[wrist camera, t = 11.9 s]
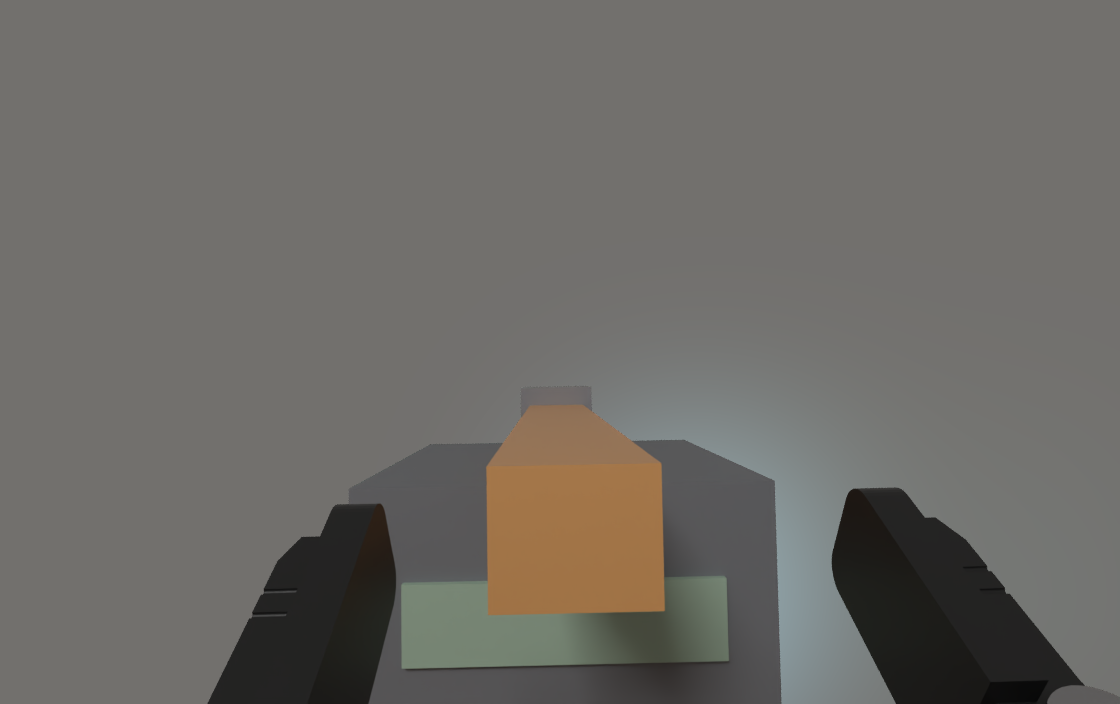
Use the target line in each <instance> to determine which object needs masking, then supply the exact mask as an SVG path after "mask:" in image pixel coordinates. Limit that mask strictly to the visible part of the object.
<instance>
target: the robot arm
mask: <svg viewBox="0 0 1120 704" xmlns="http://www.w3.org/2000/svg"><path fill="white" fill-rule="evenodd" d="M832 571H833V577H834V581H835V584H836V587H837V589H838V592H839V594H840V595H841V598H842V600H843V601H844V603H845V605H846V607H847V609H848V611H849V613H850V615H851V617H852V619H853V621H854V623H855V625H856V627H857V628H858V631H859V633H860V634H861V636H862V638H863V640H864V642H865V644H866V646H867V648H868V650H869V652H870V654H871V656H872V658H873V660H874V662H875V664H876V666H877V668H878V670H879V671H880V673H881V675H882V677H883V679H884V681H885V683H886V685H887V687H888V689H889V691H890V693H891V695H892V697H893V698H894V700H895V702H896V704H1120V697H1118V696H1116V695H1114V694H1111V693H1108V692H1106V691H1103V690H1100V689H1096V688H1093V687H1087V686H1085V685H1084V684H1083V683H1082V682H1081V681H1080V680H1079V679H1078V678H1077V676H1076V675H1075V674H1074V673H1073V672H1072V670H1071V669H1070V668H1069V666H1068V665H1067V664H1066V663H1065V662H1064V660H1063V659H1062V658H1061V657H1060V655H1059V654H1058V653H1057V652H1056V651H1055V649H1054V648H1053V647H1052V645H1051V644H1050V643H1049V642H1048V641H1047V639H1046V638H1045V637H1044V636H1043V634H1042V633H1041V632H1040V631H1039V629H1038V628H1037V627H1036V626H1035V625H1034V623H1033V622H1032V621H1031V620H1030V619H1029V617H1028V616H1027V615H1026V614H1025V612H1024V611H1023V610H1022V609H1021V607H1020V606H1019V605H1018V604H1017V602H1016V601H1015V600H1014V599H1013V597H1012V596H1011V595H1010V594H1006V592H1005V587H1004V586H1003V585H1002V584H1001V583H1000V581H999V580H998V579H997V578H996V576H995V575H994V574H993V573H992V572H991V571H988V570H987V565H986V564H985V563H984V562H983V560H982V559H981V558H980V557H979V555H978V554H977V553H976V552H975V550H974V549H973V548H972V547H971V546H970V544H969V543H968V542H967V541H966V540H965V539H964V538H963V537H961V536H960V535H959V534H957V533H956V532H954V531H953V530H952V529H950V528H949V527H948V526H946V525H945V524H943V523H942V522H941V521H939V520H938V519H937V518H925V517H924V516H923V515H922V513H921V512H920V511H919V510H918V508H917V507H916V506H915V504H914V503H913V502H912V500H911V499H910V498H909V497H908V495H907V494H906V493H905V492H904V491H903V490H902V489H899V488H865V489H852V490H851V491H850V492H849V493H848V495H847V498H846V501H845V505H844V509H843V514H842V517H841V521H840V525H839V529H838V533H837V537H836V541H835V545H834V549H833V553H832ZM395 594H396V568H395V562H394V557H393V552H392V546H391V541H390V536H389V531H388V525H387V520H386V515H385V510H384V507H383V506H382V504H380V503H376V504H343V505H341V504H340V505H335V506H334V507H333V509H332V511H331V513H330V515H329V517H328V520H327V522H326V524H325V526H324V529H323V531H322V533H321V536H320V537H301V539H300V540H298V541H297V542H296V544H294V545H293V546H292V547H291V548H290V549H289V550H288V551H287V552H286V553H285V554H284V555H283V556H282V557H281V558H280V559H279V560H278V561H277V564H276V565H275V567H274V570H273V571H272V573H271V576H270V578H269V580H268V582H267V584H266V586H265V588H264V594H263V595H261V596H260V598H259V600H258V602H257V604H256V606H255V608H254V610H253V612H252V613H253V615H252V618H251V619H249V620H248V622H247V625H246V626H245V628H244V631H243V632H242V635H241V637H240V639H239V641H238V643H237V645H236V647H235V649H234V651H233V653H232V655H231V657H230V659H229V661H228V663H227V665H226V667H225V669H224V671H223V673H222V675H221V677H220V679H219V681H218V683H217V686H216V688H215V689H214V691H213V693H212V696H211V698H210V700H209V702H208V704H369V700H370V696H371V692H372V688H373V684H374V680H375V677H376V673H377V669H378V665H379V661H380V657H381V653H382V649H383V645H384V641H385V638H386V634H387V630H388V626H389V622H390V618H391V614H392V610H393V606H394V601H395Z"/></svg>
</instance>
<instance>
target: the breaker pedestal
mask: <svg viewBox="0 0 1120 704" xmlns="http://www.w3.org/2000/svg"><path fill="white" fill-rule="evenodd" d="M632 442H634V443H635V444H636V445H638V446H639V447H640V448H642V449H643V450H644V451H646V452H647V453H648V454H650V455H651V456H652V457H654V458H655V459H656V460H658V461H659V462H661V466H662V509H663V553H664V596H665V611H653V612H610V613H566V614H523V615H488V566H487V476H486V466H487V465H488V464H489V462H490V461H491V459H492V458H493V457H494V455H495V454H496V452H497V451H498V450H499V448H500V447H501V445H502V444H503V443H489V444H433V445H429V446H427V447H425V448H423V449H421V450H419V451H417V452H416V453H414V454H412V455H410V456H408V457H406V458H405V459H403V460H401V461H399V462H397V463H395V464H394V465H392V466H390V467H388V468H387V469H384V470H383V471H381V472H379V473H377V474H375V475H373V476H372V477H370V478H368V479H366V480H364V481H363V482H361V483H359V484H357V485H355V486H353V487H352V488H350V489H349V504H376V503H380V504H382V506H383V507H384V510H385V515H386V520H387V525H388V531H389V536H390V541H391V546H392V552H393V557H394V562H395V568H396V594H395V601H394V606H393V610H392V614H391V618H390V622H389V626H388V630H387V634H386V638H385V641H384V645H383V649H382V653H381V657H380V661H379V665H378V669H377V673H376V677H375V680H374V684H373V688H372V692H371V696H370V700H369V704H781V679H780V646H779V645H780V644H779V613H778V612H779V611H778V580H777V546H776V514H775V482H774V480H772V479H769V478H767V477H765V476H763V475H760V474H758V473H756V472H754V471H752V470H749V469H747V468H745V467H743V466H741V465H738V464H736V463H734V462H732V461H729V460H727V459H725V458H723V457H721V456H719V455H716V454H714V453H712V452H710V451H707V450H705V449H703V448H701V447H699V446H696V445H694V444H692V443H690V442H688V441H685V440H659V441H658V440H656V441H632Z"/></svg>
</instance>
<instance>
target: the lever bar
mask: <svg viewBox="0 0 1120 704" xmlns="http://www.w3.org/2000/svg"><path fill="white" fill-rule="evenodd" d="M591 405H592V404H591V387H589V386H568V387H567V386H566V387H565V386H564V387H523V388H521V419H520V420H519V422H518V423H517V424H516V426H515V427H514V429H513V430H512V431H511V433H510V434H509V436H508V437H507V438H506V440H505V441H504V443H503V444H502V445H501V447H500V448H499V450H498V451H497V452H496V454H495V455H494V457H493V458H492V459H491V461H490V462H489V464H488V465H487V466H486V476H487V566H488V615H523V614H566V613H610V612H653V611H665V596H664V553H663V509H662V466H661V462H659V461H658V460H656V459H655V458H654V457H652V456H651V455H650V454H648V453H647V452H646V451H644V450H643V449H642V448H640V447H639V446H638V445H636V444H635V443H634V442H632V441H631V440H630V439H628V438H627V437H626V436H624V435H623V434H622V433H620V432H619V431H617V430H616V429H615V428H613V427H612V426H611V425H609V424H608V423H607V422H605V421H604V420H603V419H601V418H600V417H599V416H597V415H596V414H595V413H593V412H592V407H591Z"/></svg>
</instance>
